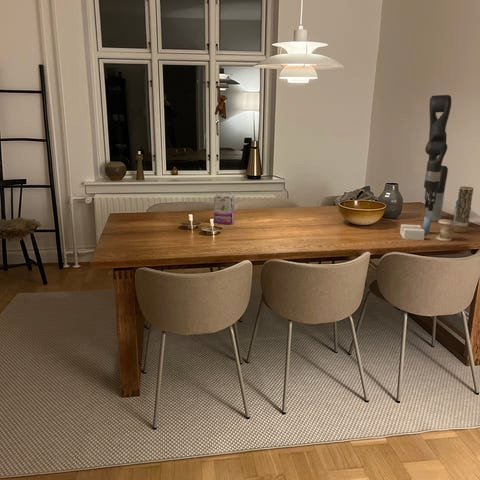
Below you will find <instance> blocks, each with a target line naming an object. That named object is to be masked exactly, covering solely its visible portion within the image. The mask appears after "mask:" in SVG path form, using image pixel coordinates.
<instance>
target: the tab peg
mask: <svg viewBox="0 0 480 480" xmlns="http://www.w3.org/2000/svg"><path fill="white" fill-rule="evenodd" d="M431 222H432V221H431V217H425V216H424V217H423V224H422V225H423V226H422V229H424V231H425V233H424V235H429V234H430V231H431Z"/></svg>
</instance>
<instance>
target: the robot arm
mask: <svg viewBox="0 0 480 480" xmlns="http://www.w3.org/2000/svg"><path fill="white" fill-rule="evenodd" d="M451 108H452V95H450V94H439V95H432V96H431V97H430V99H429V134H428V135H429V136H428V141H427V143H426V144H425V145H426V146H425V149H424V150H425V153H426V154H427V155H428V161H427V163H426V164H427V165H426V171H425V175H424V183H423V188H424V189H425V192H424V208H425V212H424V217H431V222H438V221H439V220H440V219H442V213H443V212H442V211H443V205H444V196H445V189H446V184H447V178H448V174H449V173H448V172H449V169H448V167H447V166H446V165H442V164H443V160H444V158H445V155H446V153H447V150H448V144H447V132H446V129H447V123H448V120H449V116H450V112H451ZM437 113H442V114H441V115H440V116H439V117H438V116H437Z"/></svg>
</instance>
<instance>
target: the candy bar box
mask: <svg viewBox="0 0 480 480" xmlns="http://www.w3.org/2000/svg"><path fill="white" fill-rule="evenodd" d="M213 205H214V206H213V214H214V215H213V216H214V217H213V218H214V220H213V221H214V222H213V223H214V224H215V223H219V224H218V225H229V224H232V225H234V224H235V196H234V195H218V194H217V195H215V196H213Z"/></svg>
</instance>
